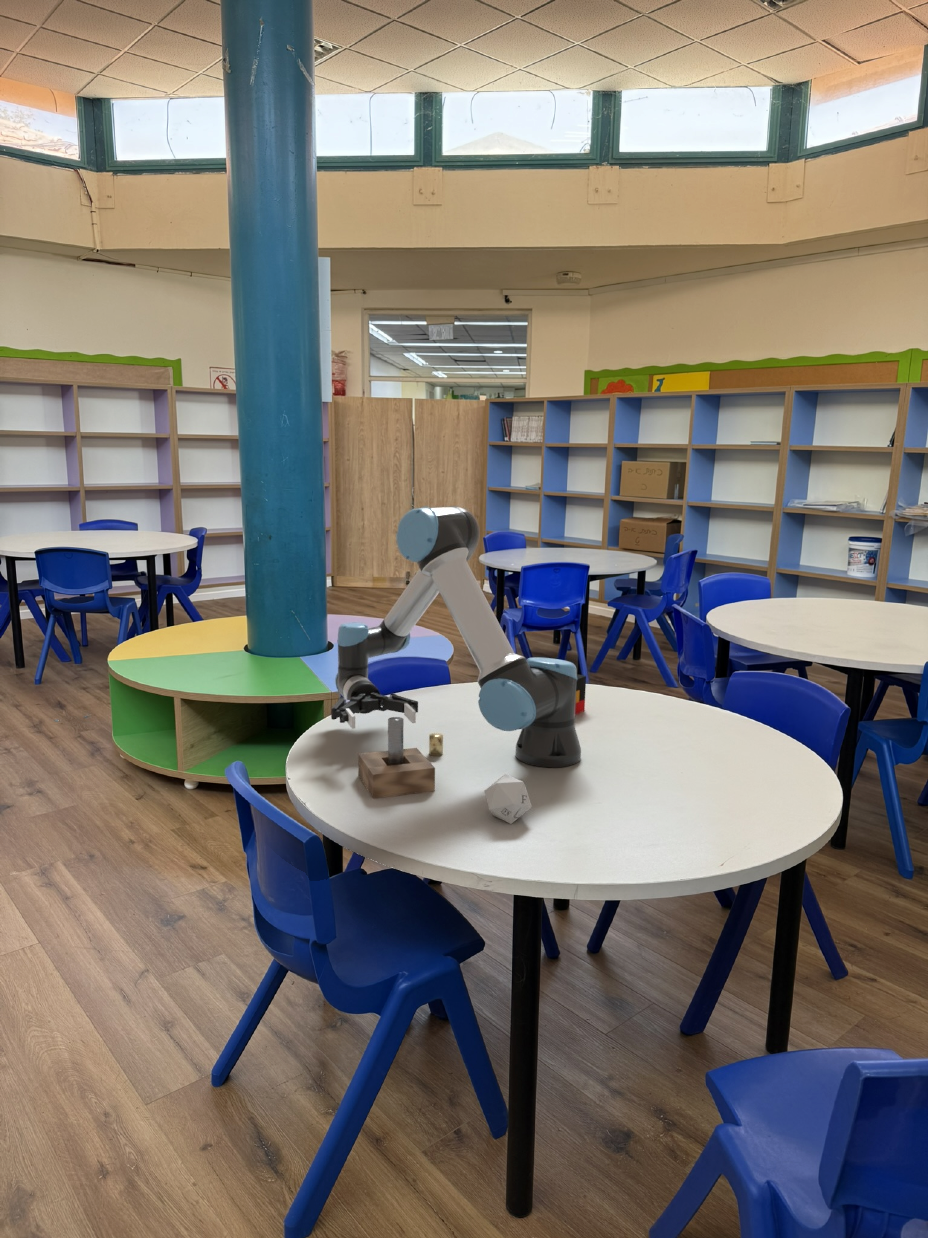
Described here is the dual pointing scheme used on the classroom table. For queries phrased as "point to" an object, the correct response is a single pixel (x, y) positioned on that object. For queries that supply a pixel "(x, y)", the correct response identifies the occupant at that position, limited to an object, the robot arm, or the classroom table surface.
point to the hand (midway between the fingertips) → (384, 720)
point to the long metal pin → (395, 741)
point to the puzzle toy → (580, 694)
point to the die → (508, 798)
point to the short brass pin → (435, 744)
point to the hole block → (396, 774)
